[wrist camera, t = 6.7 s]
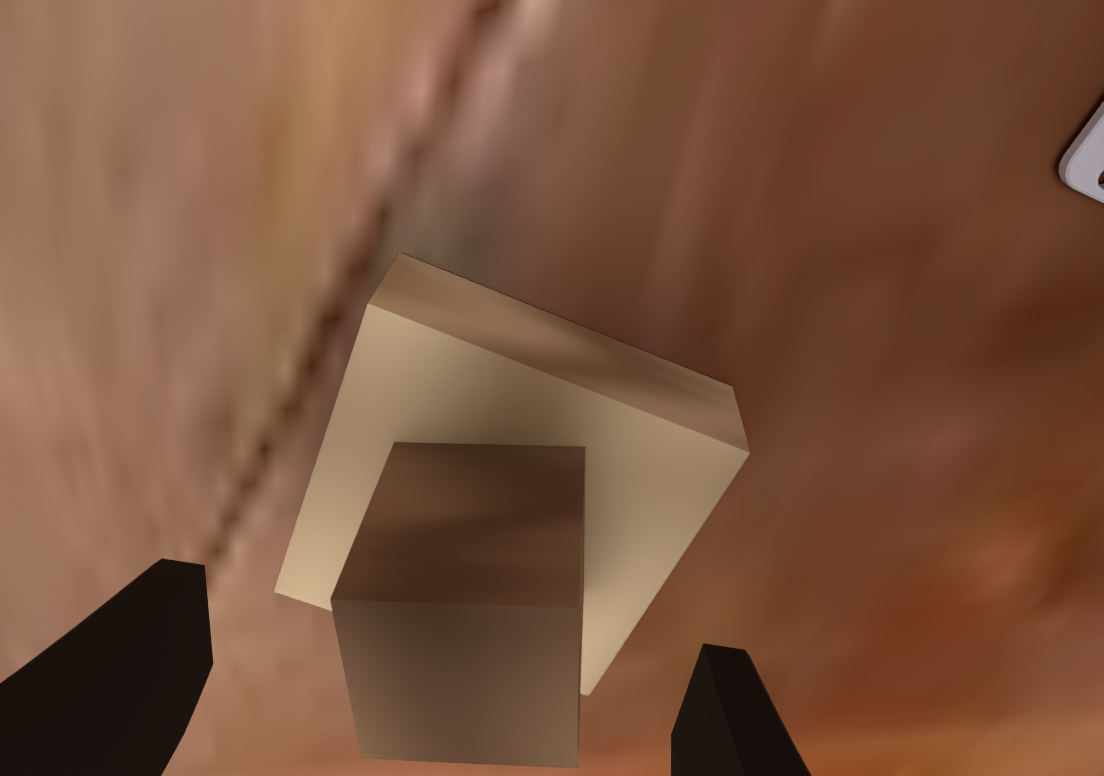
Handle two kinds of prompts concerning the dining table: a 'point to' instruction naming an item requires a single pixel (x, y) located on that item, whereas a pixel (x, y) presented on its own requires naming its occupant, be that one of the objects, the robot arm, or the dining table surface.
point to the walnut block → (467, 606)
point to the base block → (523, 435)
